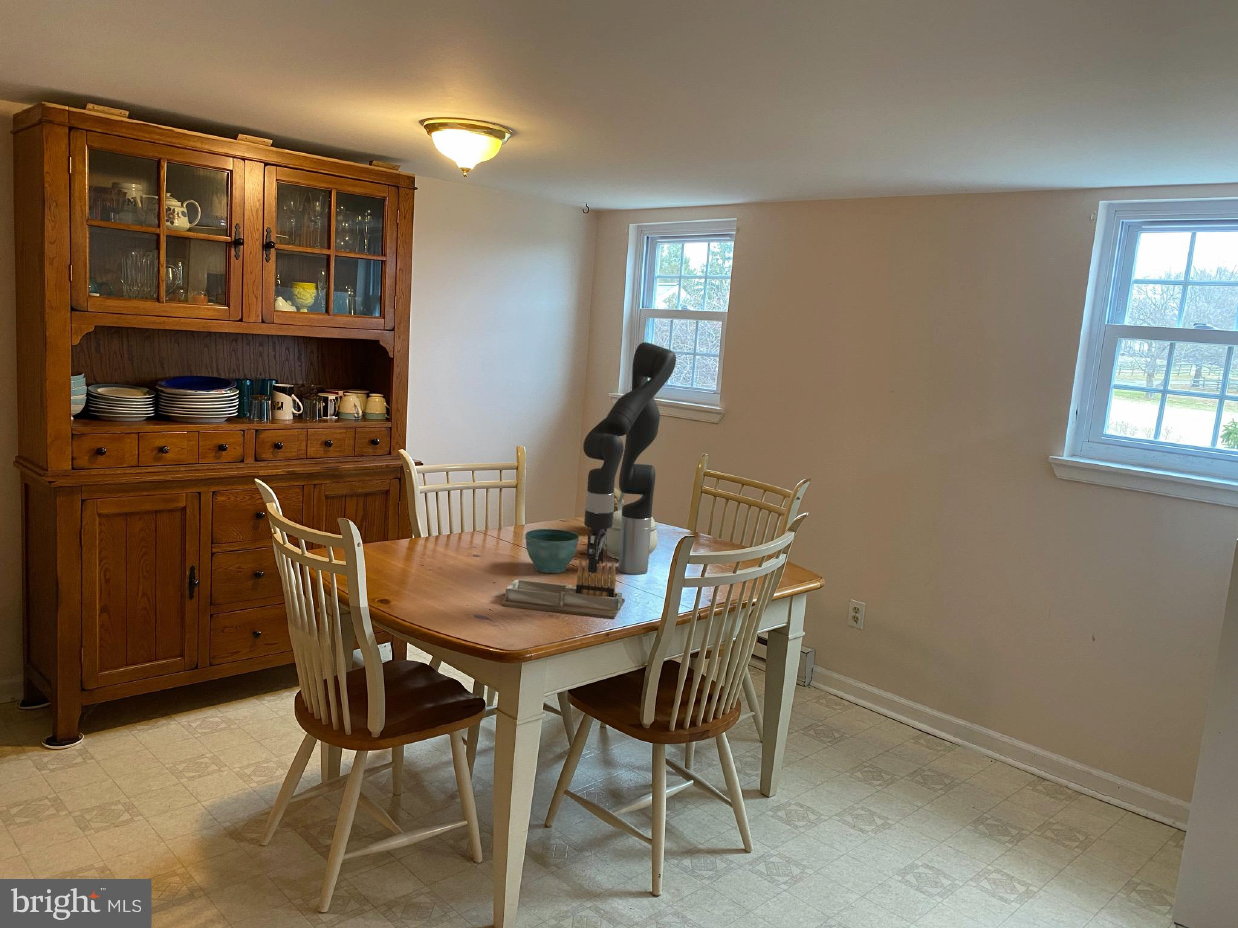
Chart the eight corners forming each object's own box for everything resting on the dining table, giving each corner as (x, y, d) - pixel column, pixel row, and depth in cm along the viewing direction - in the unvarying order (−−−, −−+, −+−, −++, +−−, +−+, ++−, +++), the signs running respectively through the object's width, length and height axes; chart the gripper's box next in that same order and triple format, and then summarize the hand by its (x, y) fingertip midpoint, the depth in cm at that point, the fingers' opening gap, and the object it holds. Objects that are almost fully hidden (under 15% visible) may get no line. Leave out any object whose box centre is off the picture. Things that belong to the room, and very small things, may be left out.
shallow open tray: (518, 589, 256) (519, 576, 256) (624, 601, 252) (625, 588, 251) (501, 605, 241) (502, 591, 240) (614, 618, 236) (615, 604, 235)
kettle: (667, 563, 296) (673, 487, 292) (614, 565, 289) (619, 487, 285) (637, 544, 319) (642, 474, 315) (588, 546, 312) (592, 474, 308)
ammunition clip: (574, 602, 245) (576, 559, 243) (575, 600, 247) (578, 557, 244) (613, 607, 243) (616, 563, 241) (615, 605, 245) (617, 561, 243)
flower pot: (569, 579, 270) (571, 543, 268) (516, 573, 273) (518, 537, 272) (582, 566, 286) (584, 532, 284) (532, 560, 289) (534, 526, 287)
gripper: (591, 502, 249) (587, 560, 251) (579, 512, 235) (575, 573, 237) (618, 505, 247) (614, 563, 250) (608, 515, 233) (604, 577, 236)
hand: (595, 568), depth 244 cm, fingers open, 8 cm apart
